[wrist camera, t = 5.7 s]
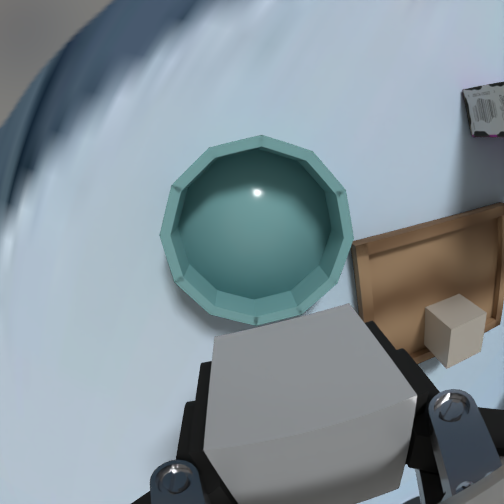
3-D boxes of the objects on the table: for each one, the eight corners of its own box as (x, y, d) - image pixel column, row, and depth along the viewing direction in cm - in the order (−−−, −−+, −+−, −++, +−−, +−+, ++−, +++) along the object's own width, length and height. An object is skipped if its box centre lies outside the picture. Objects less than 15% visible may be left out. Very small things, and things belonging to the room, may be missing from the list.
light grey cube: (357, 398, 11) (398, 488, 6) (248, 425, 11) (254, 525, 6) (349, 303, 10) (416, 395, 5) (214, 336, 10) (203, 450, 5)
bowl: (346, 281, 25) (361, 298, 22) (199, 317, 25) (194, 339, 22) (317, 127, 22) (331, 121, 18) (154, 167, 22) (140, 167, 18)
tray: (494, 319, 28) (500, 324, 26) (363, 375, 28) (367, 382, 27) (500, 202, 24) (507, 204, 23) (350, 242, 24) (355, 245, 23)
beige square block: (456, 330, 27) (480, 351, 22) (423, 344, 27) (446, 368, 22) (459, 293, 26) (486, 312, 21) (425, 307, 26) (451, 329, 21)
